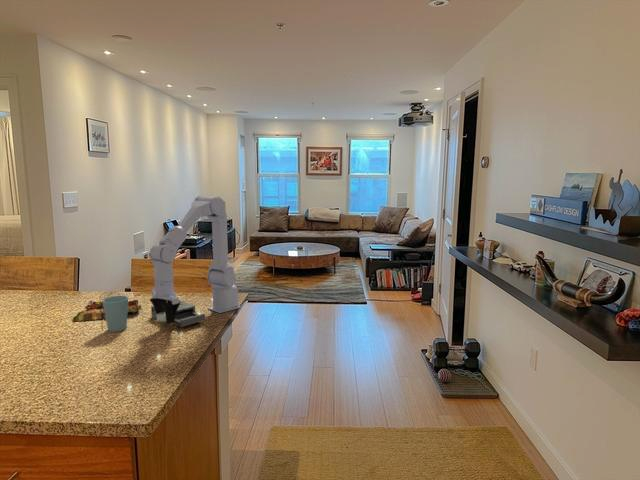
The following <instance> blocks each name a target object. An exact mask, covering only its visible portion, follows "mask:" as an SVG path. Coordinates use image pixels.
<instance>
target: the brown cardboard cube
mask: <svg viewBox="0 0 640 480" xmlns="http://www.w3.org/2000/svg"><path fill="white" fill-rule="evenodd" d="M173 330H174V323H170V324H168V323H167V322H160V321H159V331H160V332H162V333H168V332H172V331H173Z"/></svg>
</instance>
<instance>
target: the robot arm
mask: <svg viewBox="0 0 640 480" xmlns="http://www.w3.org/2000/svg"><path fill="white" fill-rule="evenodd" d="M226 211H227V209H226V201H225V200H224V199H223V198H221V197H220V196H206V195H205V196H203V195H198V196H196V197H195V198H194V200H193V201H192V202H191V207H190V209H189V210H188V211H187V212H186V213H185V215H184V216H183V218H182V220H181V221H180V222H179V223H178V225H175V226H172V227H170V228H168V230H167V231H168V232H167V233H166V234H165V235H164V236H163V238H161V239H160V240H159V243H156V244H153V245H152V246H151V248H150V251H149V253H148V257H149V258H150V260H151V261H152V265H153V275H154V276H153V277H154V289H151V298H150V299H149V301H150V303H151V304H152V306H154V308H155V311H156V314H158V313H161V312H165V315H166V321H167V323H168V324H170V323H173V322H174V320H175V316H176V312H177V309H178V307H179V305H180V301H179V300H180V297H178V296H177V294H176V293H175V290H174V289H175V288H174V287H175V286H174V285H175V284H174V269H173V268H174V267H173V263H174V262H173V261H174V260H175V259H176V257H177V252H178V251H179V248H180V247H181V245H182V244H183V243H184V242H185V240H186V239H187V237H188V234H187V233H188V231H189V230H190V229H191V228H192V227H193V226H194V225H195V224H196V223H197V222H198V221H199V220H200V219H201V218H202V217H206V218H208V219H209V220H210V221H211V229H212V230H211V231H212V232H211V233H212V236H211V237H212V239H211V240H212V263H211V264H209V266H208V272H207V275H206V277H207V282H208V284H210V287H211V290H212V291H211V292H212V294H211V295H212V306H209V307H207V309H208V310H210V311H213V312H215V313H216V314H217V313H218V314H223V313H227V312H229V311H233V310H236V309H240V308H241V306H240V305H239V290H238V287H237V285H235V283H236V280H237V277H236V273H235V267H234V266H233V265H232V263H230V262H229V252H228V251H229V248H228V246H229V245H228V215H227V212H226ZM173 324H174V323H173Z"/></svg>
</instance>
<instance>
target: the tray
mask: <svg viewBox="0 0 640 480" xmlns="http://www.w3.org/2000/svg"><path fill="white" fill-rule="evenodd" d="M204 321H206V314H205V313H201V314H199V313H197V312H195V313H194V312H192V311H186V312H182V313H178V314H176V316H175V320H174V322H173V325H177V326H179V328H180V327H181V328H183V327H187V326H191V325H194V324H196V323H200V322H204Z"/></svg>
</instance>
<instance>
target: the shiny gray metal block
mask: <svg viewBox="0 0 640 480" xmlns="http://www.w3.org/2000/svg"><path fill="white" fill-rule="evenodd" d="M179 301H180V305H179V307H178V309H177V312H176V314H178V313H182V312H186V311H192V312H194V313H196V306H195V305H194V304H191V303H189V302H186V301H184V300H181V299H179ZM150 309H151V318H152V319H153V320H156V321H157V314H156V311H155V308H154V306H153V305H151V308H150Z"/></svg>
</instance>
